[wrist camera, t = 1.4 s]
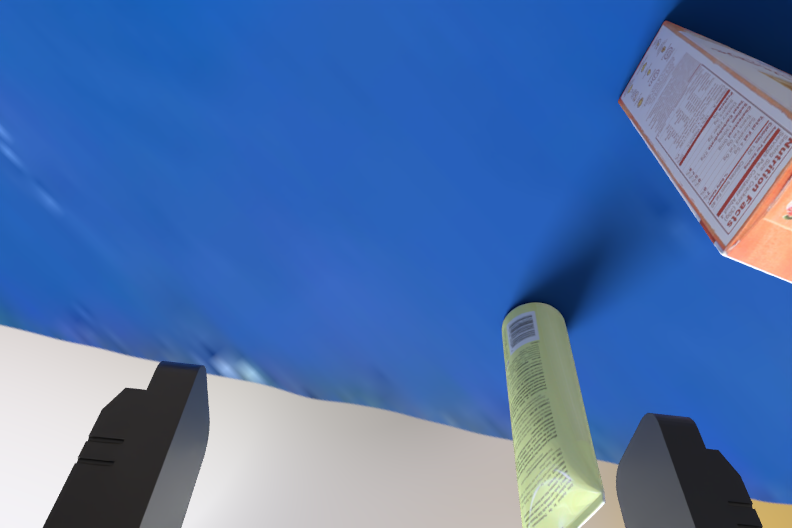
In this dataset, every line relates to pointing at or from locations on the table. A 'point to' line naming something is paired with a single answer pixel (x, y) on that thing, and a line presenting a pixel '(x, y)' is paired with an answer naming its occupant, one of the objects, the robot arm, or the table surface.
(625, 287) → the table surface
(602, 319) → the table surface
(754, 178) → the cracker box
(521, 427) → the tube
